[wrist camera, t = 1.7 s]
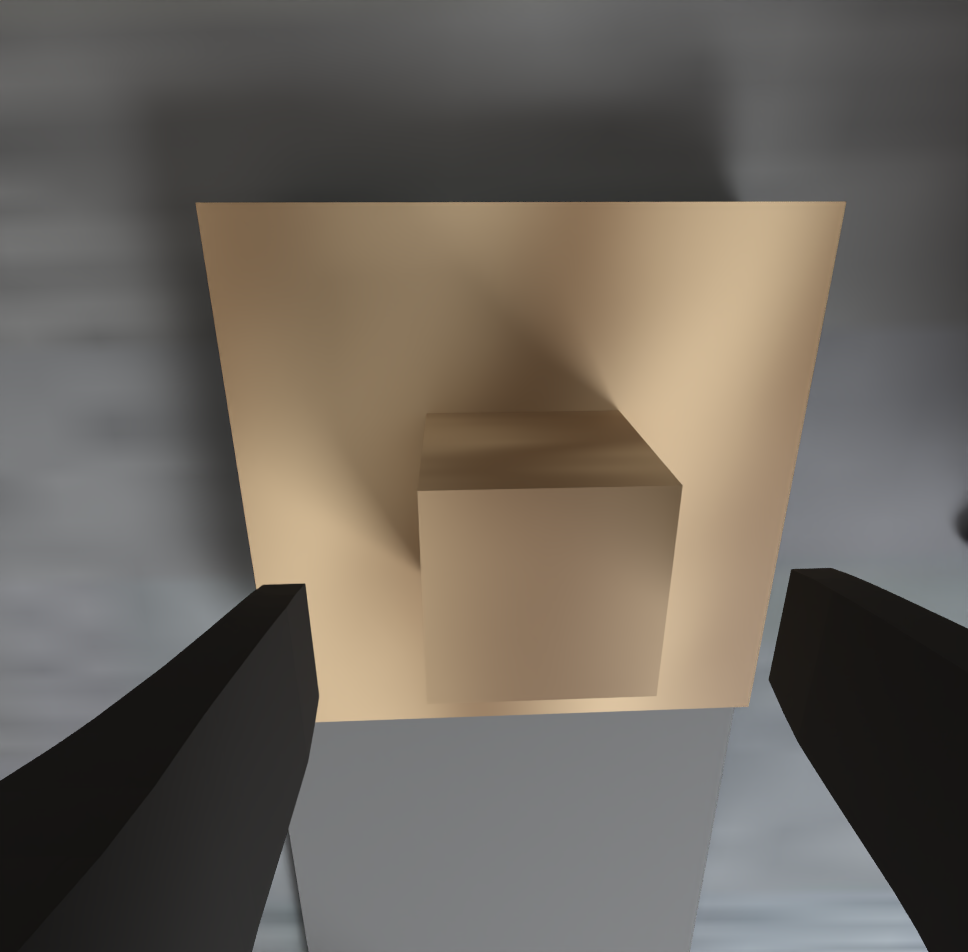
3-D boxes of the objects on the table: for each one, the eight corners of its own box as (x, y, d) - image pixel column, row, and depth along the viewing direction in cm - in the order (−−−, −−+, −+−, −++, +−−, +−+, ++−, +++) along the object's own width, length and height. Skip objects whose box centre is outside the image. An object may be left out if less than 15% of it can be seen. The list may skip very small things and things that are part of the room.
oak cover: (823, 201, 13) (1020, 196, 8) (735, 685, 17) (832, 847, 13) (210, 202, 12) (75, 198, 8) (285, 701, 17) (226, 875, 12)
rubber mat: (734, 666, 20) (740, 675, 19) (682, 961, 25) (685, 972, 25) (269, 682, 19) (266, 691, 19) (317, 980, 24) (315, 992, 24)
